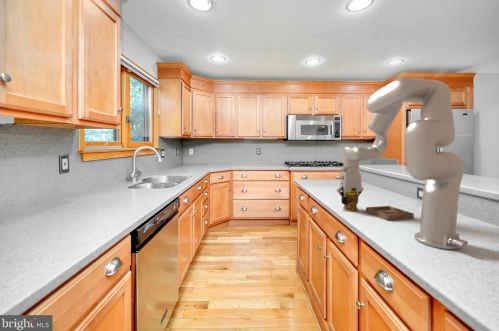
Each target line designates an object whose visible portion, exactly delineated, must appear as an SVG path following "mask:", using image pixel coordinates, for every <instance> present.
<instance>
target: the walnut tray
mask: <svg viewBox="0 0 499 331" xmlns="http://www.w3.org/2000/svg"><path fill="white" fill-rule="evenodd" d="M365 213H367V214H370V215H373V216H374V217H378V218H380V219H383V220H385V221H400V220H411V219H412V220H413V219H414V216H415V214H414V213H413V212H410V211H407V210H403V209H400V208H397V207H395V206H391V205H384V206H383V205H382V206H367V207H366V208H365Z"/></svg>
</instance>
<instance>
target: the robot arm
mask: <svg viewBox="0 0 499 331" xmlns="http://www.w3.org/2000/svg"><path fill="white" fill-rule="evenodd" d="M404 103H413V104H414V103H416V104H419V103H420V104H422V105H421V106H420V114H419V115H420V119H417V120H414V121H412V122H411V123H410V124H408V125H407V127H406V128H405V131H404V134H403V145H404V152H405V153H404V154H405V155H404V156H405V165H406V169H407V172H408V174H409V175H410V176H411V177H412V178H414V179H415V180H418V181H424V182H425V183H424V185H423V188H422V197H421V198H422V200H421V212H420V213H421V214H420V226H419V229H420V230H419V231H418V232H416V233H414V239H415V240H416V241H417V242H419V243H421V244H424V245H425V246H430V247H433V248H437V249H443V250H458V249H466V248H467V247H468V246H467V245H468V243H469V242H468V241H467V240H466V239H461V238H460V233H457V220H458V219H457V218H458V209H459V208H458V207H459V198H460V197H459V196H460V189H461V184H462V180H463V177H464V174H465V168H466V167H465V166H466V165H465V162H464V160H463V158H461V156H460V155H459V154H456V153H454V152H451V151H436V149H438V148H440V149H441V148H442V149H443V148H447V147H448V146H450V145H452V144H453V143H454V141H455V139H456V130H455V129H456V128H455V124H454V123H455V122H454V115H453V114H454V113H453V108H452V95H451V89H450V87H449V86H448V84H447V83H445V82H444V81H442V80H437V79H425V78H417V77H416V78H415V77H399V78H396V79H394V80H393V81H390V82H389V83H388V84H385V85H384V86H383V87H382V86H381V87H380V88H379V89H377V90H376V91H375V92H373V93H372V94H371V95H370V96H369V98H368V99H367V101H366V109H367V111H368V112H370V113H371V114H372V113H373V114H372V116H371V118H370V120H369V121H368V124H367V128H368V129H369V131H371V132H372V133H374V134H375V139H374V141H373V143H372V144H371V145H357V146H345V147H344V149H343V167H342V168H341V171H342V172H341V176H340V184H339V186H338V187H337V188H336V192H337V193H338V194H339V195H340V197H341V204H342V205H343V206H344V205H346V202H347V198H346V194H347V192H351V189H352V188H356V193H357V205H358V204H359V197H360V195H361V194H362V192H363V191H364V187H362V186H363V185H362V174H361V173H360V162H376V161H378V160H379V159H380V158H381V157H382V155H383V154H384V152H385V151H386V149H387V147H388V144H389V135H388V131H389V129H390V127H392V124H393V123H394V121H395V119H396V118H397V116H398V115H399V112H400V111H401V109H402V107H403V106H404Z"/></svg>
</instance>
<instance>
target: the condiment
mask: <svg viewBox="0 0 499 331" xmlns="http://www.w3.org/2000/svg"><path fill="white" fill-rule="evenodd" d="M346 198H347V202H346V205H344V204H343V206H342V210H343V211H345V212H354V213H355V212H357V213H359V208H358V206H357V205H358V204H357V193H356V188H352V189H351V192H347V194H346Z"/></svg>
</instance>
